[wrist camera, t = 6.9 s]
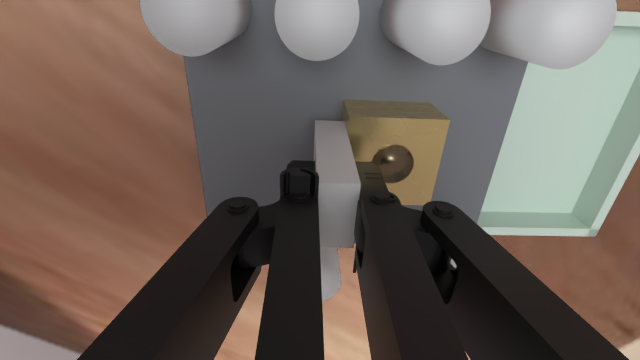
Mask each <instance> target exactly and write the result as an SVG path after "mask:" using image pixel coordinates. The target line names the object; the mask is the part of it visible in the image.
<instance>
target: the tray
mask: <svg viewBox="0 0 640 360" xmlns="http://www.w3.org/2000/svg"><path fill="white" fill-rule="evenodd" d="M639 154H640V12H627V11H617V13H616V19H615V23H614V26H613V29H612V31H611V33H610V35H609V37H608V38H607V40H606V41H605V43H604V44H603V45H602V47H601V48H600V49H599V50H598V51H597V52H596V53H595V54H594V55H593V56H591V57H590V58H589V59H587V60H586V61H584V62H583V63H581V64H579V65H577V66H574V67H571V68H568V69H559V70H557V69H551V68H547V67H544V66H540V65H537V64H534V63H531V62H528V65H527V68H526V71H525V74H524V77H523V80H522V83H521V87H520V90H519V93H518V96H517V99H516V102H515V105H514V109H513V112H512V115H511V118H510V121H509V124H508V127H507V131H506V134H505V137H504V140H503V143H502V146H501V149H500V153H499V156H498V159H497V162H496V165H495V168H494V171H493V175H492V178H491V181H490V184H489V187H488V190H487V193H486V197H485V200H484V203H483V206H482V209H481V212H480V215H479V219H478V222H477V225H479V226H480V227H481V228H482V229H483V230H484V231H485V232H486V233H488V234H489V235H536V236H596V234H597V232H598V231H599V229H600V227H601V225H602V223H603V221H604V219H605V218H606V216H607V214H608V212H609V210H610V208H611V206H612V204H613V203H614V201H615V199H616V197H617V195H618V193H619V191H620V190H621V188H622V186H623V184H624V182H625V180H626V178H627V176H628V175H629V173H630V171H631V169H632V167H633V165H634V163H635V162H636V160H637V158H638V156H639Z"/></svg>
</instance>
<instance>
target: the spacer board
mask: <svg viewBox="0 0 640 360" xmlns="http://www.w3.org/2000/svg"><path fill="white" fill-rule="evenodd" d="M140 8H141V13H142V16H143V19H144V22H145V24H146V26H147V28H148V29H149V31H150V32H151V34H152V35H153V36H154V38H155V39H156V40H157V41H158V42H159V43H160V44H161V45H163V46H164V47H165V48H167V49H168V50H170V51H172V52H174V53H176V54H179V55H183V56H184V63H185V69H186V76H187V83H188V90H189V96H190V103H191V110H192V117H193V123H194V130H195V137H196V144H197V150H198V157H199V164H200V171H201V178H202V184H203V191H204V198H205V205H206V211H207V217H208V216H209V215H210V214H211V212H212V211H213V210H214V209H215V208H216V207H217V206H218V205H219V204H220V203H221V202H223V201H224V200H227V199H229V198H232V197H248V198H251V199H253V200H255V201H256V202H257V204H258V207H261V206H266V205H270V204H273V203H275V202H277V201H278V200H279V199H280V174H281V172H282V171H284V170H286V168H287V165H288V164H289V163H290V162H291V161H292V160H302V161H313V160H314V134H315V120H327V121H342V112H343V100H369V101H395V102H420V103H431V104H432V105H434V106H435V107H436V108H437V109H438V110H439V111H441V112H442V113H443V114H444V115H445V116H446V117H447V118H449V119H450V123H449V127H448V132H447V136H446V140H445V144H444V148H443V152H442V157H441V161H440V165H439V169H438V173H437V177H436V182H435V186H434V190H433V194H432V198H431V201H443V202H448V203H450V204H452V205H455V206H456V207H458V208H459V209H461V210H462V211H463V212H464V213H465V214H466V215H467V216H469V217H470V218H471V219H472V220H473V221H474V222H475V223H476V224H477V222H478V219H479V215H480V212H481V209H482V206H483V203H484V200H485V197H486V193H487V190H488V187H489V184H490V181H491V178H492V175H493V171H494V168H495V165H496V162H497V159H498V156H499V153H500V149H501V146H502V143H503V140H504V137H505V134H506V131H507V127H508V124H509V121H510V118H511V115H512V112H513V109H514V105H515V102H516V99H517V96H518V93H519V90H520V87H521V83H522V80H523V77H524V74H525V71H526V68H527V65H528V62H531V63H534V64H537V65H540V66H544V67H547V68H551V69H557V70H559V69H568V68H571V67H574V66H577V65H579V64H581V63H583V62H584V61H586V60H587V59H589V58H590V57H591V56H593V55H594V54H595V53H596V52H597V51H598V50H599V49H600V48H601V47H602V45H603V44H604V43H605V41H606V40H607V38H608V37H609V35H610V33H611V31H612V29H613V26H614V23H615V19H616V13H617V4H616V0H140ZM402 206H404V207H407V208H411V209H416V210H420V211H422V210H423V205H402ZM354 243H356V241H355V239H354ZM320 260H321V286H322V301H325V300H328V299H330V298H331V297H333V296H334V295H335V294H336V293H337V292H338V290H339V289H340V286H341V276H340V267H339V258H338V248H337V247H320ZM450 263H451V264H452V265H453V267H455V268H456V267H457V266H456V264H455V262H454V261H453V260H452V259H451V262H450Z"/></svg>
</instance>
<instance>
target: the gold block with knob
mask: <svg viewBox="0 0 640 360" xmlns="http://www.w3.org/2000/svg"><path fill="white" fill-rule="evenodd" d="M342 121H344V122H345V126H346V129H347V133H348V137H349V141H350V145H351V148H352V152H353V156H354V160H355V161H361V162H373V163H374V164H376V165H377V166H378V167H379V168H380V171H381V174H382V176H383V179H384V181H385V183H386V186H387V188H388V191H389V192H391V193H393V194H395V195H396V196H397V197H398V198H399V200H400V202H401V204H402V205H424V204H426V203H427V202H430V201H431V198H432V194H433V190H434V186H435V182H436V177H437V173H438V169H439V165H440V161H441V157H442V152H443V148H444V144H445V140H446V136H447V132H448V127H449V123H450V119H449V118H447V117H446V116H445V115H444V114H443V113H442V112H441V111H439V110H438V109H437V108H436V107H435V106H434V105H432V104H431V103H420V102H395V101H369V100H343V112H342Z"/></svg>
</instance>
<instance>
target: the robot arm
mask: <svg viewBox="0 0 640 360" xmlns="http://www.w3.org/2000/svg"><path fill="white" fill-rule="evenodd" d="M354 239H355V241H356V251H355V259H354V268H353V273H356V269H357V273H358V279H359V285H360V291H361V298H362V304H363V310H364V316H365V322H366V328H367V334H368V341H369V347H370V353H371V359H372V360H468V358H467V355H466V353H467V354H468V356H469V357H470V359H471V360H629V359H628V358H626V356H624V355H623V354H622V353H621V352H620V351H619V350H618V349H617V348H615V347H614V346H613V345H612V344H611V343H610V342H609V341H608V340H606V339H605V338H604V337H603V336H602V335H601V334H600V333H599V332H597V331H596V330H595V329H594V328H593V327H592V326H591V325H590V324H589V323H587V322H586V321H585V320H584V319H583V318H582V317H581V316H580V315H578V314H577V313H576V312H575V311H574V310H573V309H572V308H571V307H569V306H568V305H567V304H566V303H565V302H564V301H563V300H562V299H560V298H559V297H558V296H557V295H556V294H555V293H554V292H553V291H551V290H550V289H549V288H548V287H547V286H546V285H545V284H544V283H543V282H541V281H540V280H539V279H538V278H537V277H536V276H535V275H534V274H532V273H531V272H530V271H529V270H528V269H527V268H526V267H525V266H523V265H522V264H521V263H520V262H519V261H518V260H517V259H516V258H514V257H513V256H512V255H511V254H510V253H509V252H508V251H507V250H506V249H504V248H503V247H502V246H501V245H500V244H499V243H498V242H497V241H495V240H494V239H493V238H492V237H491V236H490V235H489V234H488V233H486V232H485V231H484V230H483V229H482V228H481V227H480V226H479V225H477V224H476V223H475V222H474V221H473V220H472V219H471V218H470V217H469V216H467V215H466V214H465V213H464V212H463V211H462V210H461V209H459V208H458V207H456V206H455V205H452V204H450V203H448V202H443V201H430V202H427V203H426V204H424V205H423V210H422V211H420V210H416V209H411V208H407V207H404V206H402V204H401V202H400V200H399V198H398V197H397V196H396V195H395V194H393V193H391V192H389V191H388V188H387V186H386V183H385V181H384V179H383V176H382V174H381V171H380V168H379V167H378V166H377V165H376V164H374V163H373V162H361V161H355V160H354V156H353V152H352V148H351V145H350V141H349V137H348V133H347V129H346V126H345V122H344V121H327V120H315V134H314V160H313V161H302V160H292V161H291V162H290V163H289V164H288V165H287V168H286V170H284V171H282V172H281V174H280V199H279V200H278V201H277V202H275V203H273V204H270V205H266V206H261V207H258V204H257V202H256V201H255V200H253V199H251V198H248V197H232V198H229V199H227V200H224V201H223V202H221V203H220V204H219V205H218V206H217V207H216V208H215V209H214V210H213V211H212V212H211V214H210V215H209V216H208V217H207V218H206V219H205V220H204V221H203V222H202V223H201V224H200V226H199V227H198V228H197V229H196V230H195V231H194V232H193V233H192V234H191V235H190V237H189V238H188V239H187V240H186V241H185V242H184V243H183V244H182V245H181V246H180V247H179V249H178V250H177V251H176V252H175V253H174V254H173V255H172V256H171V257H170V258H169V259H168V261H167V262H166V263H165V264H164V265H163V266H162V267H161V268H160V269H159V270H158V272H157V273H156V274H155V275H154V276H153V277H152V278H151V279H150V280H149V281H148V282H147V284H146V285H145V286H144V287H143V288H142V289H141V290H140V291H139V292H138V293H137V295H136V296H135V297H134V298H133V299H132V300H131V301H130V302H129V303H128V304H127V305H126V307H125V308H124V309H123V310H122V311H121V312H120V313H119V314H118V315H117V316H116V317H115V319H114V320H113V321H112V322H111V323H110V324H109V325H108V326H107V327H106V328H105V330H104V331H103V332H102V333H101V334H100V335H99V336H98V337H97V338H96V339H95V340H94V342H93V343H92V344H91V345H90V346H89V347H88V348H87V349H86V350H85V351H84V353H83V354H82V355H81V356H80V357H79V358H78V359H77V360H214V358H215V356H216V354H217V352H218V350H219V348H220V347H221V345H222V343H223V341H224V339H225V337H226V335H227V333H228V332H229V330H230V328H231V326H232V324H233V322H234V320H235V318H236V316H237V315H238V313H239V311H240V309H241V307H242V305H243V303H244V301H245V300H246V298H247V296H248V294H249V292H250V290H251V288H252V286H253V285H254V283H255V281H256V279H257V277H258V275H259V273H260V271H261V266H262V265H266V264H270V265H269V271H268V277H267V284H266V290H265V297H264V303H263V310H262V316H261V323H260V329H259V336H258V342H257V349H256V355H255V360H324V340H323V313H322V286H321V260H320V247H344V248H354ZM451 259H452V260H453V261H454V262H455V264H456V266H457V267H456V268H455V267H453V265H452V264H451V263H450V262H451ZM464 350H465V351H464ZM465 352H466V353H465Z"/></svg>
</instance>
